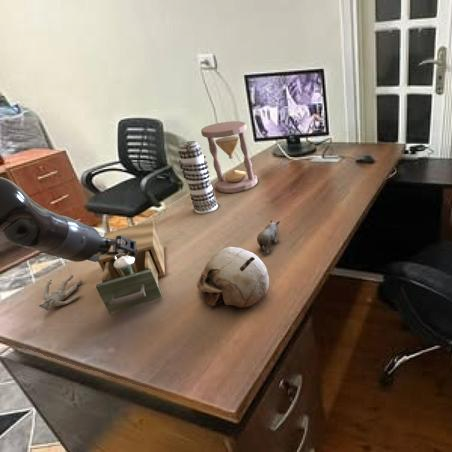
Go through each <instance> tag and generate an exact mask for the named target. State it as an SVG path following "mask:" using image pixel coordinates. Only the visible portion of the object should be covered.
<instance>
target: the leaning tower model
mask: <svg viewBox="0 0 452 452" xmlns="http://www.w3.org/2000/svg"><path fill="white" fill-rule="evenodd" d="M176 151H177V153H178V156H179V161H178V164H179V167H180V169H181V170H182V171H181V173H182V175H183V178H184V179H185V183H186V184H187V185H188V189H189V196H190V200H191V201H192V202H191V203H192V206H193V209H194V212H195V213H196V214H208V213H211V212H213V211H215V210H217V209H218V207H219V205H218V201H217V197H216V196H215V195H216V194H215V192H214V188H213V185H212V183H211V181H210V179H211V175H210V171H209V170H207V169H208V168H209V165H207V164H208V161H206V160H205V159H206V158H207V157H206V155H204V153H203V152H202V144H200V143H198V142H197V141H195V140H189V141H184V142H181V143H180V144H179V145H178V147H177V149H176Z"/></svg>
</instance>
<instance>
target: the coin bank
mask: <svg viewBox="0 0 452 452" xmlns="http://www.w3.org/2000/svg"><path fill="white" fill-rule="evenodd" d="M196 288H197V289H198V290H199V293H200V296H201V298H202V299H203V301H204V302H206V303H207V304H208V305H209V306H210V307H215V306H218V305H219V304H220V303H222V302H224V304H225V305H226V306H229V305H230V306H235V307H237V308H241V309H243V308H246V307H250V306H253V305H256V304H257V303H258V302H260V301H261V299H262V298H263V297H264V296H265V295H266V294H267V293H268V291H269V288H270V277H269V272H268V268H267V267H266V265H265V263H264V262H263V261H262V259H260V257H259V256H257V254H255V253H253V252H251V251H249V250H247V249H244V248H241V247H236V246H227V247H225V248H223V249H221V250H219V251H217V252H216V253H215V254H214V255H213V256H212V257H210V259H209V260H208V261H207V262H206V264H205V266H204V268H203V270H202V271H201V275H200V276H199V278H198V280H197V282H196Z"/></svg>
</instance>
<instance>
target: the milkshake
mask: <svg viewBox="0 0 452 452" xmlns="http://www.w3.org/2000/svg"><path fill="white" fill-rule="evenodd" d="M113 258H114V259H115V260H116V261H115V262H114V267H115V269H116V270H117V272H118V273H119V275H120V276H121V277H124V276H128V275H131V274H135V273H138V269H137V265H136V261H135V258H134V257H130V256H127V255H126V256H122V257H121V258H119V259H117V258H116V257H115V256H113Z"/></svg>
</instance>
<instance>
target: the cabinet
mask: <svg viewBox="0 0 452 452" xmlns="http://www.w3.org/2000/svg"><path fill="white" fill-rule="evenodd" d="M116 236H123V237H126V238H128V239H131V240H133V241H136V248H137V253H138V252H142V251H146V250H149V249H150V250H151V252H152V254H153V257H154V259H155V262H156V264H157V267H158V278H162V277H165V276H166V271H165V269H166V267H165V249H164V246H163V243H162V241H161V238H160V235H159V232H158V229H157V227H156V226H155V222H154V221H153V220H151V221H148V222H144V223H140V224H136V225H132V226H127V227H123V228H120V229H116V230H110V231H107V232H104V233H103V237H105V238H108V239H116ZM119 250H120V249H119ZM120 251H123V250H120ZM109 252H113V246H111V248H110V250H109ZM122 256H126V255H124V254H118V255H115V257H116V258H120V257H122ZM112 259H114V258H113V256H109V255H101V256H99V261H98V264H99V267H100V269H101V271H102V273H103V272H104V268H105V264H106V261H109V260H112Z"/></svg>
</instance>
